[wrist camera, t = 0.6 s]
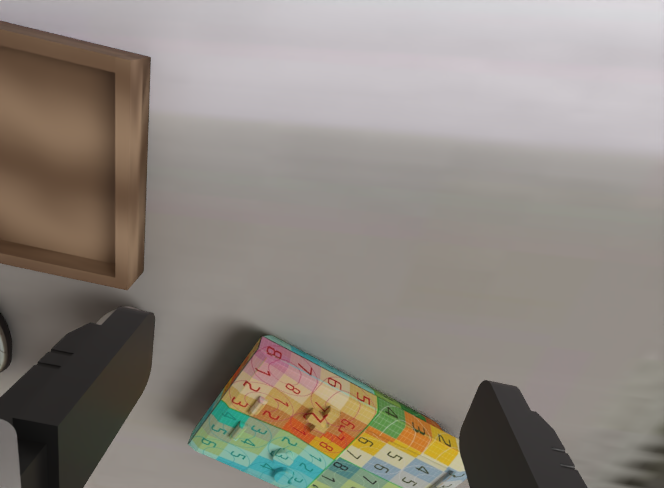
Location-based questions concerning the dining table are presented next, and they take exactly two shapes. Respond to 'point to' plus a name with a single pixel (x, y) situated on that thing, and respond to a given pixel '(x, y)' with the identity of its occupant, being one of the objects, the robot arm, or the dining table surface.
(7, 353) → the salad plate
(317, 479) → the puzzle game
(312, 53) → the dining table surface
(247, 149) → the dining table surface
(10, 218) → the display tray
